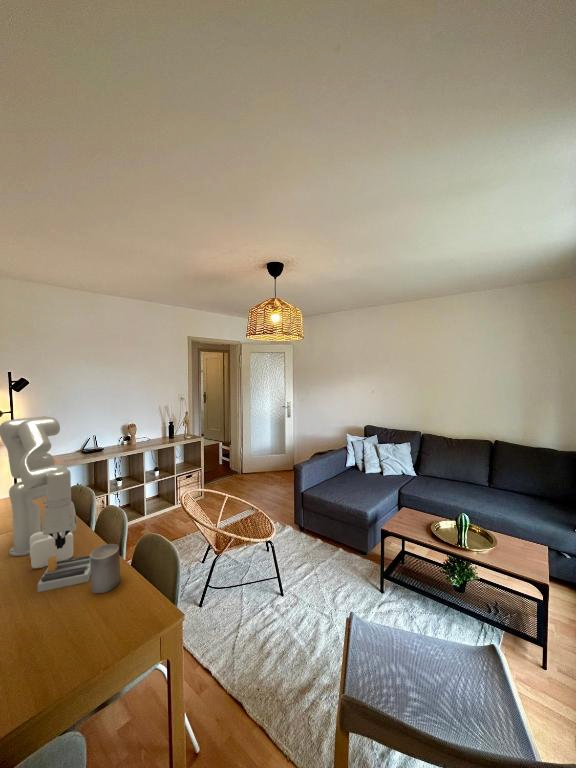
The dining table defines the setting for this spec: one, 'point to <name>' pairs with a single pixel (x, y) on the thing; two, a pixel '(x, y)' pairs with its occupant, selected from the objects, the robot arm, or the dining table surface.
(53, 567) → the lever
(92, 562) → the pillar candle
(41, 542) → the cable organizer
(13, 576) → the dining table surface
